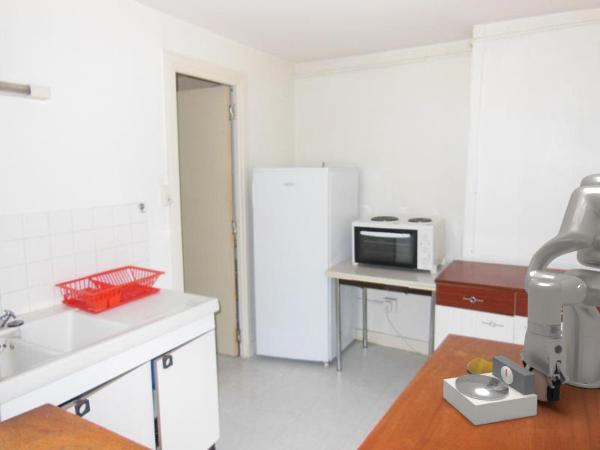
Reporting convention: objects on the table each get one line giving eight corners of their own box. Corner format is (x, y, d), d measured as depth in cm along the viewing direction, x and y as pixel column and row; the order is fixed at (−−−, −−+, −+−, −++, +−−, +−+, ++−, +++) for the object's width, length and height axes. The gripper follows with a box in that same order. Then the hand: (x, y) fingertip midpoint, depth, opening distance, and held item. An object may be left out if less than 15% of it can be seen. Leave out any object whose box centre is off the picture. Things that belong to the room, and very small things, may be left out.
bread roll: (492, 382, 129) (492, 369, 128) (463, 372, 135) (463, 359, 135) (506, 373, 134) (506, 360, 133) (477, 364, 141) (477, 352, 140)
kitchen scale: (499, 388, 124) (500, 353, 123) (536, 414, 111) (538, 375, 110) (443, 397, 120) (443, 361, 119) (475, 425, 107) (475, 385, 106)
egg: (549, 393, 120) (550, 360, 119) (561, 406, 114) (562, 372, 112) (523, 393, 121) (524, 361, 120) (534, 406, 114) (535, 372, 113)
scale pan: (487, 374, 122) (487, 371, 122) (520, 396, 110) (520, 393, 110) (445, 380, 119) (445, 377, 119) (474, 403, 107) (474, 400, 107)
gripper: (584, 337, 107) (582, 408, 109) (531, 315, 124) (530, 377, 126) (558, 341, 105) (555, 413, 108) (507, 318, 122) (507, 381, 125)
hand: (542, 393), depth 117 cm, fingers closed on egg, 6 cm apart
